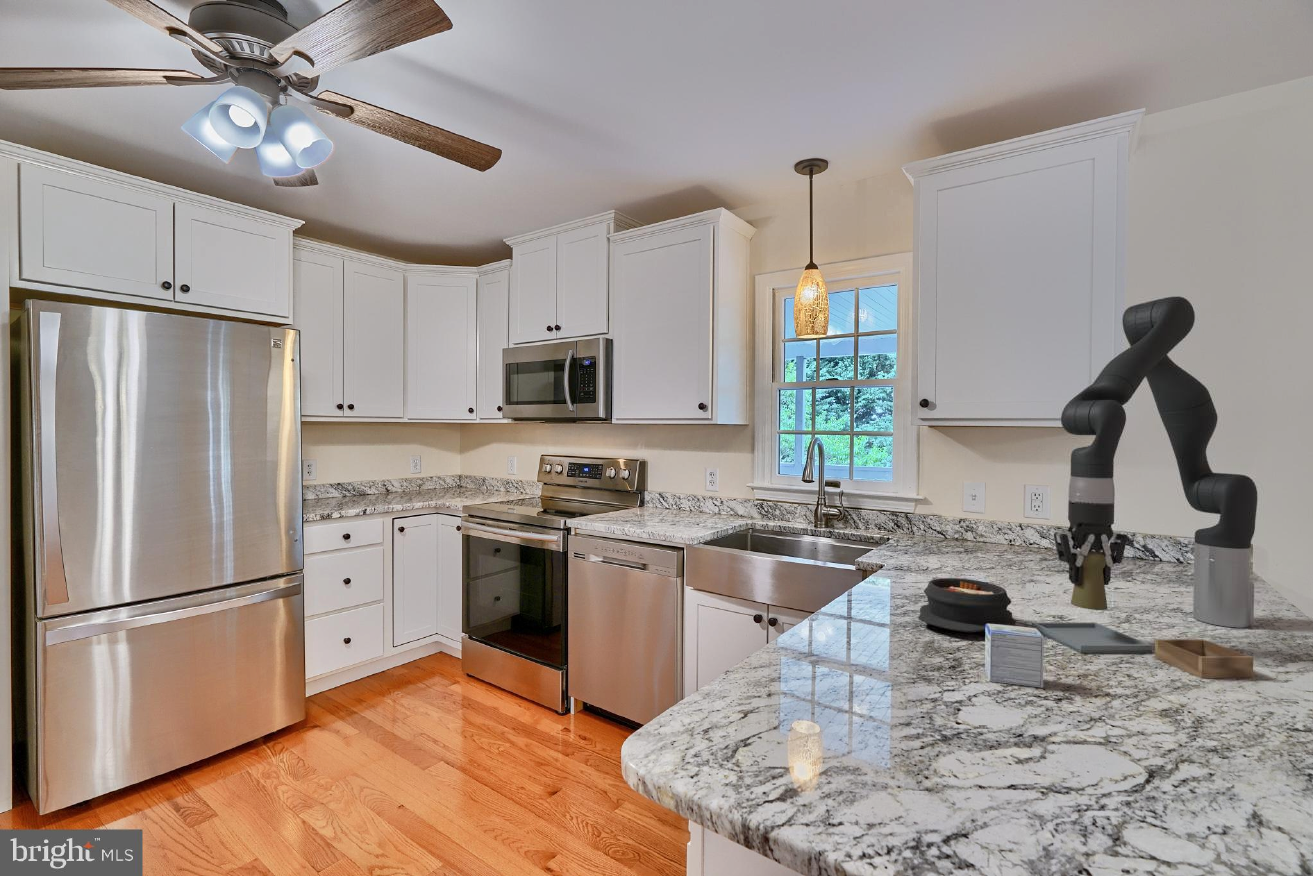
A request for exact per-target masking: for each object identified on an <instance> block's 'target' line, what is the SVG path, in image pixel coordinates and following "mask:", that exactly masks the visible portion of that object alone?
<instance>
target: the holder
mask: <svg viewBox="0 0 1313 876" xmlns="http://www.w3.org/2000/svg"><path fill="white" fill-rule="evenodd" d="M1154 659H1156V660H1159V661H1161V662H1164V663H1166V664H1168V665H1171V666H1172V667H1174V668H1177V669H1179V670H1182V671H1183V672H1187V673H1189V674H1191V675H1193V676H1196V677H1198V678H1200V679H1247V678H1248V677H1249V678H1248V679H1252V678H1254V657H1253V656H1251V655H1247V654H1244V653H1242V652H1239V651H1237V650H1233V649H1231V648H1228V647H1225V646H1223V645H1220V644H1217V643H1214V642H1211V641H1208V640H1205V639H1202V638H1199V639H1198V638H1184V639H1183V638H1180V639H1179V638H1177V639H1175V638H1169V639H1167V638H1164V639H1163V638H1157V639H1154ZM1245 677H1246V678H1245Z"/></svg>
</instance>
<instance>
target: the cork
mask: <svg viewBox="0 0 1313 876" xmlns="http://www.w3.org/2000/svg"><path fill="white" fill-rule="evenodd" d="M1076 556H1077V555H1076ZM1075 559H1076V557H1075ZM1105 565H1106V557H1105V556H1104V555H1103V554H1102V553H1099V552H1096V551H1092V550H1091V551H1088V554H1087V556H1085V557H1084V559H1083V562H1082V564H1081V566H1080V567H1082V585H1075V584H1073V589H1072V595H1071V601H1070V604H1071V605H1072V606H1074V607H1077V608H1081V609H1087V610H1094V611H1107V610H1108V602H1107V594H1106V593H1107V592H1106V585H1104V577H1103V570H1102V569H1103V568H1104V567H1105Z"/></svg>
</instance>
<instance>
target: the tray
mask: <svg viewBox="0 0 1313 876" xmlns="http://www.w3.org/2000/svg"><path fill="white" fill-rule="evenodd" d="M1031 628H1036V629H1037V630H1038V631H1039V632H1040V633H1041V634H1042V636H1043V637H1046V638H1048V639H1050V640H1052V641H1054V642H1057V643H1058V644H1061V645H1062V646H1065V647H1066V648H1068V649H1070V650H1072V651H1075V652H1077V653H1079V654H1089V655H1090V654H1091V655H1092V654H1096V655H1097V654H1153V645H1152V644H1149V643H1147V642H1145V641H1143V640H1140V639H1137V638H1136V637H1132V636H1130V635H1127V634H1124V633H1122V632H1120V631H1118V630H1115V629H1113V628H1110V627H1108V626H1106V625H1103V624H1100V623H1098V622H1093V621H1092V622H1091V621H1090V622H1089V621H1088V622H1086V621H1085V622H1084V621H1083V622H1081V621H1080V622H1079V621H1078V622H1074V621H1073V622H1072V621H1071V622H1070V621H1069V622H1064V621H1063V622H1062V621H1061V622H1059V621H1058V622H1055V621H1054V622H1051V621H1049V622H1048V621H1047V622H1046V621H1043V622H1042V621H1041V622H1039V621H1038V622H1037V621H1036V622H1031Z"/></svg>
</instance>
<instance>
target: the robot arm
mask: <svg viewBox="0 0 1313 876" xmlns="http://www.w3.org/2000/svg"><path fill="white" fill-rule="evenodd" d="M1195 315H1196V314H1195V310H1194V308H1193V305H1192V304H1191V302H1190V300H1188V299H1187V298H1185V297H1184V296H1183V297H1182V296H1168V297H1162V298H1158V299H1155V300H1154V299H1153V300H1150V301H1146V302H1142V303H1138V304H1135V305H1131V306H1129V307H1128V308H1126V309H1125V311H1124V312H1123V314H1122V328H1123V333H1124V335H1125V337H1126V340H1127V342H1128V344H1129V347H1128V348H1127V349H1125V350H1123V351H1122V352H1120V353H1119V354H1118V355H1116V356H1115V357H1114V358H1112V359H1111V360H1110V361H1109V362H1108V363H1107V364H1106V365H1105V366H1104V368H1102V370H1101V371H1100V372H1099V374H1098V376H1097V377H1096V379H1094V381H1093V382H1092V383H1091V385H1088V386H1087V387H1085V388H1084V389H1083V390H1082V391H1080V392H1078V394H1077V395H1075V396H1074V397H1073V398H1072V399H1070V400H1069V401H1068V403H1066V405H1065V406H1064V407H1063V409H1062V412H1061V415H1060V423H1061V426H1062V428H1063V429H1064V431H1066V432H1067V433H1069V434H1070V435H1075V436H1095V438H1094V439H1093V441H1092V443H1091V444H1090V445H1088V446H1081V447H1077V448H1075V449H1073V450H1072V451H1071V453H1070V477H1069V483H1068V499H1067V500H1068V504H1067V505H1068V506H1067V507H1068V510H1067V513H1068V514H1067V520H1068V521H1069V527H1068V529H1067V531H1064V532H1063V531H1062V532H1058V531H1056V532H1054V533H1053V538H1054V542H1055V543H1054V544H1055V548H1056V554H1057V557H1058V561H1061V562H1063V563H1066V564H1068V580H1069V581H1070V583H1071V584H1073V585H1074V584H1075V585H1082V567H1080V566H1081V564H1082V562H1083V559H1084V557H1085V556H1087V554H1088V551H1096V552H1099V553H1102V554H1103V555H1104V556H1105V557H1106V565H1105V567H1104V568H1103V569H1102V570H1103V577H1104V585H1105V586H1108V585H1109V584H1110V582H1111V572H1112V571H1111V570H1112V567H1113V565H1116V564H1118V565H1119V564H1121V563H1122V560H1123V558H1124V557H1123V556H1124V553H1125V549H1126V545H1127V541H1128V538H1129V537H1128V535H1127V534H1125V533H1119V532H1114V529H1113V528H1112V525H1114V523H1115V496H1116V494H1115V489H1116V488H1115V483H1114V466H1115V465H1114V464H1115V463H1114V461H1115V460H1114V459H1115V456H1116V452H1117V449H1118V446H1119V442H1120V440H1121V437H1122V435H1123V432H1124V430H1125V427H1126V422H1127V413H1126V410H1125V408H1124V407H1123V406H1125V404H1127V403H1128V402H1129V401H1130V400H1131V399H1132V397H1133V395H1134V394H1135V393H1136V392H1137V390H1138V388H1139V386H1141V383H1142V382H1143V381H1144V379H1145V378H1146V381H1147V382H1148V386H1149V389H1150V390H1151V394H1152V396H1153V399H1154V402H1155V405H1156V407H1157V408H1156V409H1157V411H1158V415H1159V417H1160V418H1161V419H1160V420H1161V422H1162V424H1163V426H1164V428H1165V431H1166V433H1167V436H1168V439H1169V442H1170V445H1171V448H1172V450H1173V453H1174V456H1175V460H1176V465H1177V468H1178V473H1179V476H1180V480H1181V484H1182V489H1183V493H1184V496H1185V498H1186V501H1187V502H1188V505H1189V506H1190V507H1191V508H1193V509H1194V510H1196V511H1198V512H1201V513H1205V514H1206V513H1207V514H1214V515H1215V514H1216V515H1219V520H1218V523H1216V524H1215V525H1212V526H1211V527H1206V528H1199V529H1197V530H1195V532H1194V545H1193V547H1194V549H1193V554H1194V555H1193V556H1194V557H1193V594H1192V595H1193V596H1192V597H1193V599H1192V600H1193V601H1192V608H1193V609H1192V617H1193V619H1195V620H1197V621H1200V622H1203V623H1206V624H1211V625H1215V626H1219V627H1220V626H1221V627H1230V628H1248V627H1250V626H1254V617H1255V606H1254V605H1255V583H1254V581H1252V580H1251V547H1252V546H1251V545H1252V541H1253V537H1254V535H1255V531H1256V519H1257V507H1258V490H1257V488H1258V487H1257V486H1256V484H1255V481H1254V480H1253V479H1252V478H1251V477H1250V476H1247V475H1244V474H1237V473H1227V472H1226V473H1225V472H1213V470H1212V469H1211V466H1210V464H1209V462H1208V461H1209V460H1208V458H1207V457H1208V456H1207V448H1208V445H1209V443H1210V441H1211V439H1212V437H1213V435H1214V432H1215V430H1216V427H1217V424H1218V418H1219V417H1218V413H1217V410H1216V407H1215V405H1214V402H1213V399H1212V397H1211V394H1210V392H1209V389H1208V388H1207V387H1206V386H1205V384H1203V383H1202V382H1201V381H1199V379H1197V378H1196V377H1195V376H1193V375H1192V374H1190V373H1189V372H1187V371H1186V370H1184V369H1183V368H1182V367H1180V366H1179V365H1178V364H1176V363H1175V362H1174V361H1173V360H1172V359H1171V358H1170V356H1169V353H1170V352H1171V351H1172V350H1173V349H1174V348H1175V347H1177V345H1179V343H1180V342H1182V341H1183V340H1184V339H1185V338H1186V337H1187V336H1188V335H1189V333H1190V332H1191V331H1192V329H1193V327H1194V324H1195V320H1196V319H1195V318H1196V316H1195ZM1109 542H1110V543H1109ZM1076 555H1077V556H1076ZM1075 557H1076V559H1075Z"/></svg>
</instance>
